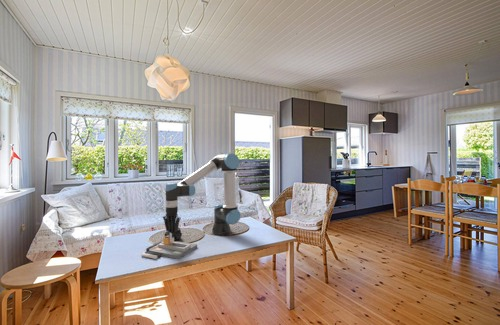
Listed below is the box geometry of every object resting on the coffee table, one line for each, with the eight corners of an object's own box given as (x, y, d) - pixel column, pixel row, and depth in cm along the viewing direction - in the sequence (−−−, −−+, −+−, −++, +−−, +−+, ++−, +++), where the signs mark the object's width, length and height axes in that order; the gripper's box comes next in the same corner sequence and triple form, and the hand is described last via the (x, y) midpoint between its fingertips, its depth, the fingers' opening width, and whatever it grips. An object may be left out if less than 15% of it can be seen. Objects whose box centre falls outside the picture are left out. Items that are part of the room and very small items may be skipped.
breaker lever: (168, 244, 163) (167, 234, 162) (172, 245, 161) (172, 235, 161) (163, 246, 159) (163, 236, 158) (168, 247, 157) (168, 237, 157)
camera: (175, 243, 170) (175, 229, 170) (163, 242, 173) (163, 228, 172) (184, 237, 183) (184, 224, 183) (172, 236, 186) (172, 223, 185)
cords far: (140, 256, 148) (140, 253, 148) (146, 253, 152) (146, 250, 152) (155, 259, 144) (155, 256, 144) (161, 256, 148) (161, 253, 148)
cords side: (160, 243, 170) (160, 241, 170) (165, 244, 168) (165, 242, 168) (145, 251, 157) (145, 248, 157) (150, 252, 155) (150, 249, 155)
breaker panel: (171, 243, 171) (171, 237, 171) (197, 247, 163) (197, 241, 163) (150, 253, 153) (150, 247, 153) (178, 259, 145) (178, 252, 145)
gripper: (159, 206, 157) (160, 242, 157) (176, 208, 152) (176, 245, 153) (167, 204, 164) (167, 238, 164) (183, 206, 159) (183, 241, 160)
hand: (171, 241), depth 159 cm, fingers closed
